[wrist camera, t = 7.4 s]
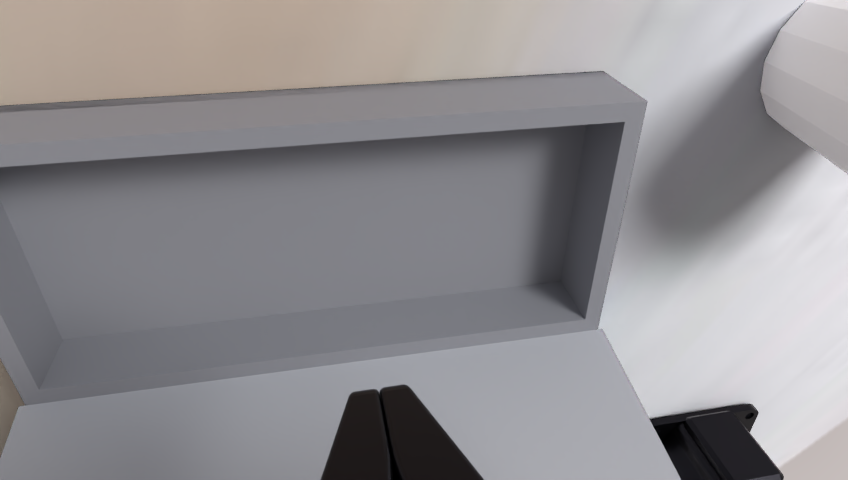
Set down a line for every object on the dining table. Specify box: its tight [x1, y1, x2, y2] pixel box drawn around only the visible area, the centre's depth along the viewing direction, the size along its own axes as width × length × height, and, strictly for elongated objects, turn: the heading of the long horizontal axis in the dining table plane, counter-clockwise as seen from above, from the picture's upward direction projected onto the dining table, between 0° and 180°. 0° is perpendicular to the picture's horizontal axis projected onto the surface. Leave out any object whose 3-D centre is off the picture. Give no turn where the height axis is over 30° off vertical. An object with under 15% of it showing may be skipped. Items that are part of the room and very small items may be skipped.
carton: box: [0, 71, 648, 406], centre depth 20 cm, size 9×20×3 cm, turn 89°
